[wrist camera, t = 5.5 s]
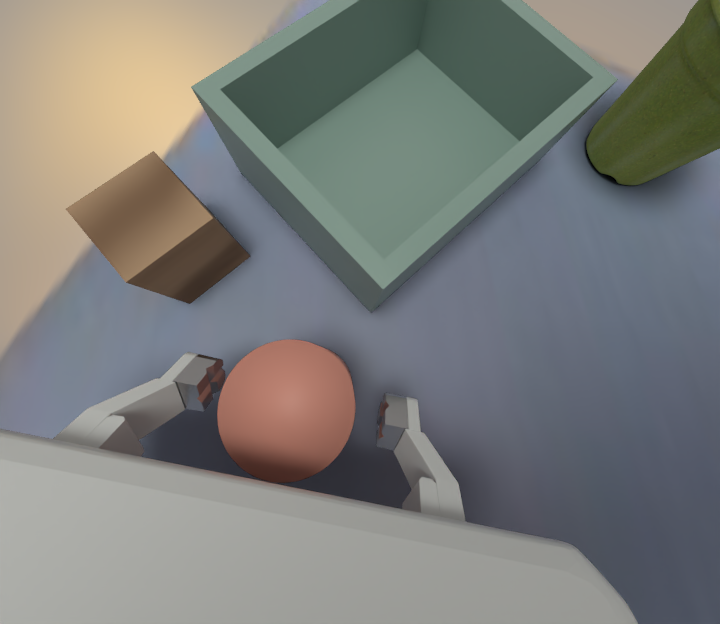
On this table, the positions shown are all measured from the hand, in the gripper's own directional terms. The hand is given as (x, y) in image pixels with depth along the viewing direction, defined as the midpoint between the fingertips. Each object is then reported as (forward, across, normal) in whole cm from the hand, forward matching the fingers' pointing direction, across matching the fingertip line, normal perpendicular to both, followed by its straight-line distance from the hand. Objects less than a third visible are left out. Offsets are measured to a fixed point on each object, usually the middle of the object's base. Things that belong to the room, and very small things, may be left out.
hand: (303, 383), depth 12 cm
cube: (+8, +10, -1) cm, 13 cm away
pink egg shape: (+3, 0, +4) cm, 4 cm away
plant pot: (+19, -20, -12) cm, 30 cm away
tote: (+15, -2, -8) cm, 17 cm away
